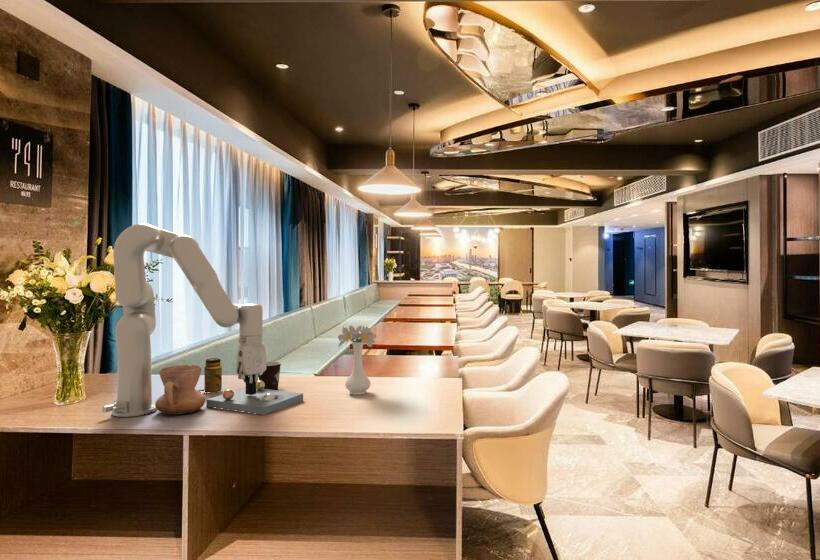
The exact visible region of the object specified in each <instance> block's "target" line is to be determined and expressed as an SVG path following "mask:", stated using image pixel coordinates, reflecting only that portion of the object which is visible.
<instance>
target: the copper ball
mask: <svg viewBox="0 0 820 560" xmlns="http://www.w3.org/2000/svg"><path fill="white" fill-rule="evenodd" d="M224 390H225V391H222V395H223V398H224V399H225V400H230V399H232V398H233V396H234V390H233V389H230V388H228V389H224Z"/></svg>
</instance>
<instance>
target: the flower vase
mask: <svg viewBox="0 0 820 560" xmlns="http://www.w3.org/2000/svg"><path fill="white" fill-rule="evenodd" d="M341 329H342V334H341V333H340V334H338V336H337V339H338V340H339V341H340V342H339V343H338V347H341V346H342V347H344V346H345V345H346V344H347V343H348V342H349V341H350V343H351V344H352V348H353V365H352V371H351V373H350V375H349V377H347V379H346V380H345V384H344V387H345V389H347V391H348V393H349V394H350V395H355V396H361V395H365V394H367V391H368V390H369V388H370V387H371V381H370V378H369V377H368V376H367V375H366V373H365V371H364V367H363V347H364V345H365V344H366V345H367V347H368V348H372V347H373V344H375V343H376V342H375V340H374V339H376V338H377V334H376V333H375V334H374V333H373V332H372V331H371V329H370V327H368V326H364V325H359V326H358V327H356V328H355V327H354V326H353V325H349V326H348V327H345V326H342V328H341Z"/></svg>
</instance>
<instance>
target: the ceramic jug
mask: <svg viewBox="0 0 820 560" xmlns="http://www.w3.org/2000/svg"><path fill="white" fill-rule="evenodd" d="M158 371H159V377H160V381H161V382H162V384H163V386H164V388H163V392H164V393H163V394H162V395H161V396H159V398H157V399H156V400H155V403H154V404H155V406H156V409H157V410H156V411H159V412H160V413H163V414H166V415H167V414H168V415H185V413H186V414H190V413H194V412H196V411H198V410H200V409H201V408H202V407H203V406H204V405H205V403H206V398H205V394H201V393H200V392H198V391H197V390H198V389H196V386H197V385H198V382H199V379H200V377H201V373H202V366H201V365H199V364H194V363H193V364H191V365H189V364H186V363H183V364H174V365H169V366H164V367H162V368H160V369H159V370H158Z"/></svg>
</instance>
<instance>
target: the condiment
mask: <svg viewBox="0 0 820 560" xmlns="http://www.w3.org/2000/svg"><path fill="white" fill-rule="evenodd" d="M221 364H222V363H221V359H220V358H219V357H218V358H216V357H213V358H212V357H211V358H207V359H205V364H204V365H205V366H204V371H203V372H204V389H196V390H197V391H198V392H200V391H204V390H205V392H217V391H221V390H223V389H222V384H223V380H222V379H223V378H222V375H223V374H222V371H223V370H222V369H223V368H222V365H221ZM200 393H201V392H200ZM217 393H218V392H217ZM204 395H209V393H207V394H206V393H205V394H204Z"/></svg>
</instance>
